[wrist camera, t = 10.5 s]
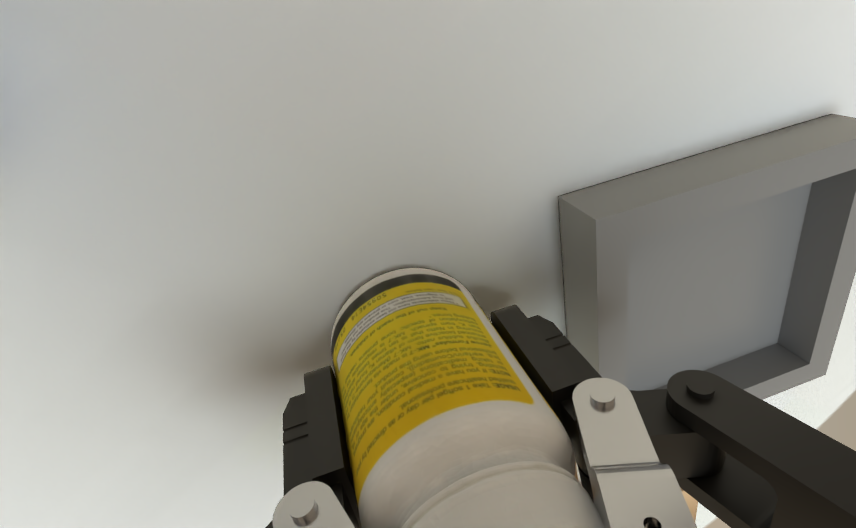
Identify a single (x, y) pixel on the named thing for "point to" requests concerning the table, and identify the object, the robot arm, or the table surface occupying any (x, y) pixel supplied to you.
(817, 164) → the tray
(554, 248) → the table surface
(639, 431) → the robot arm
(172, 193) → the table surface
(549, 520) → the supplement bottle
